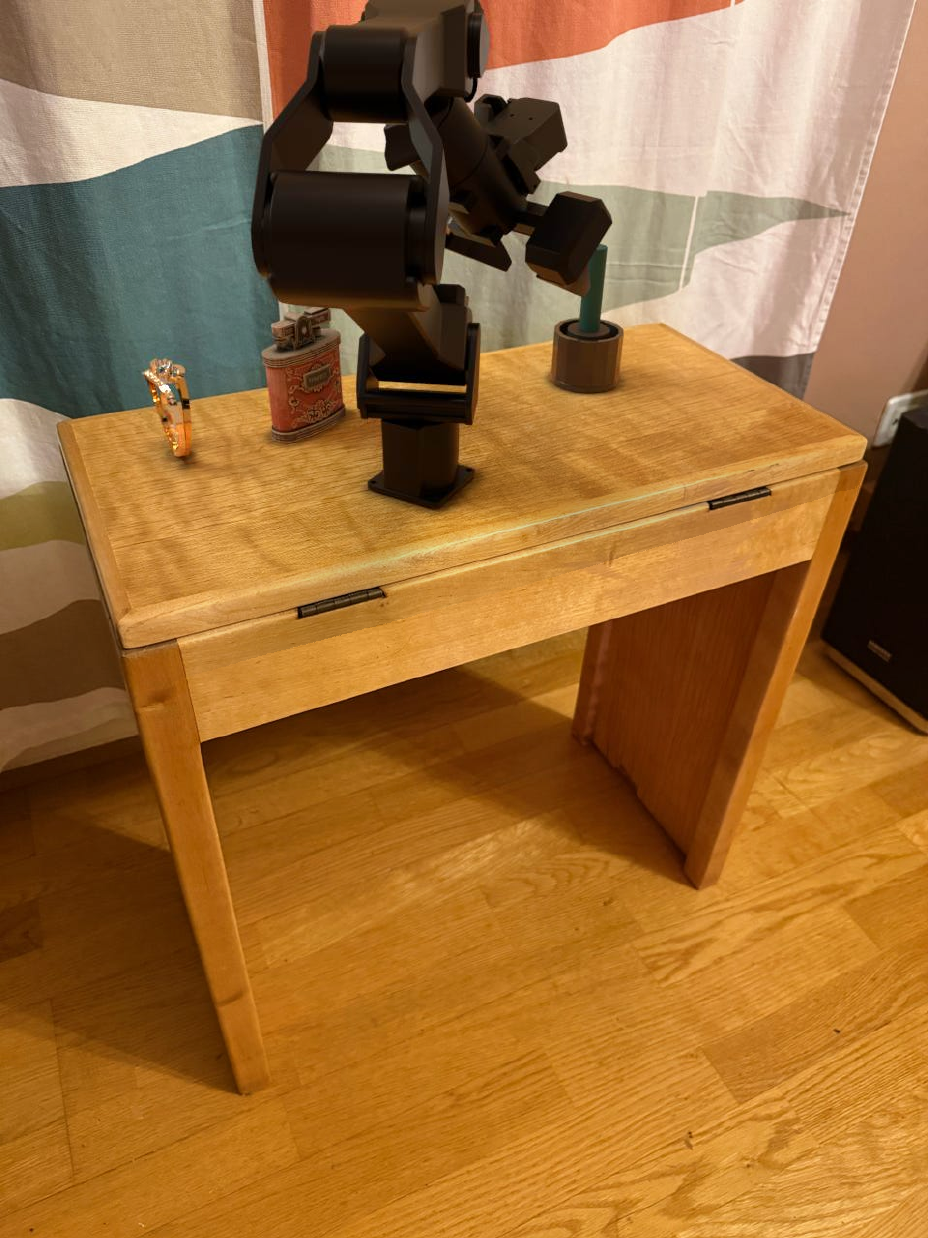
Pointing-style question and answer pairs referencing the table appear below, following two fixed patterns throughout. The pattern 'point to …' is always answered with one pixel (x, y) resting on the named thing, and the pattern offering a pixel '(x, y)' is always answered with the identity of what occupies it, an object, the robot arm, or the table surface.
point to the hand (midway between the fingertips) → (545, 278)
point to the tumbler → (586, 359)
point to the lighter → (304, 375)
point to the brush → (592, 302)
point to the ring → (171, 403)
